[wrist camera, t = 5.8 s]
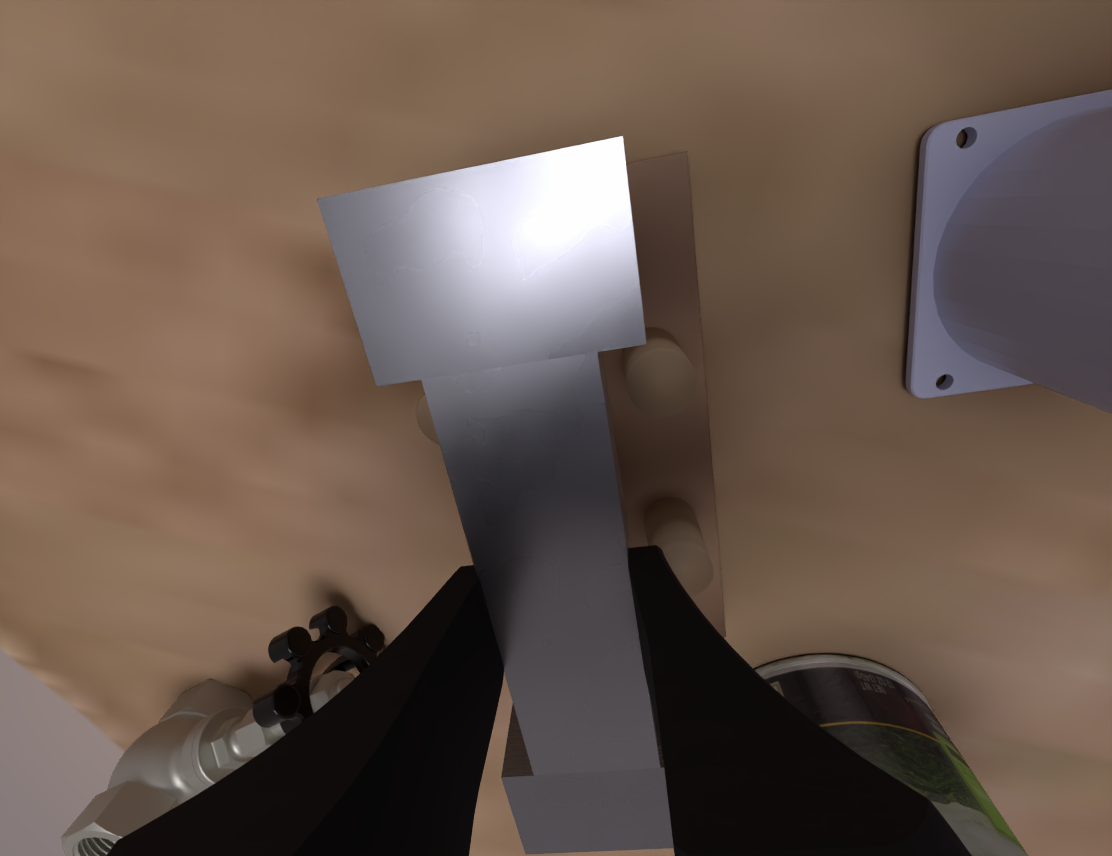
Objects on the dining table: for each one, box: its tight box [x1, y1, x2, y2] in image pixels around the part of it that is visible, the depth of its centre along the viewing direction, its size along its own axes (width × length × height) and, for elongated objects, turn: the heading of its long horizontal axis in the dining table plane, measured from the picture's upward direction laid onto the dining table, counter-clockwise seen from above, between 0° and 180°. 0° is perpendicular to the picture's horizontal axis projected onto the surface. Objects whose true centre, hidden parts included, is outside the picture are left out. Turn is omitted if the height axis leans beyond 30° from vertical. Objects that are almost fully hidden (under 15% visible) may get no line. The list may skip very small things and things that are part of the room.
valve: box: [61, 606, 384, 856], centre depth 22 cm, size 7×7×12 cm
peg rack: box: [417, 151, 726, 637], centre depth 17 cm, size 17×9×4 cm, turn 10°
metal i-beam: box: [317, 136, 674, 854], centre depth 13 cm, size 16×5×4 cm, turn 10°
